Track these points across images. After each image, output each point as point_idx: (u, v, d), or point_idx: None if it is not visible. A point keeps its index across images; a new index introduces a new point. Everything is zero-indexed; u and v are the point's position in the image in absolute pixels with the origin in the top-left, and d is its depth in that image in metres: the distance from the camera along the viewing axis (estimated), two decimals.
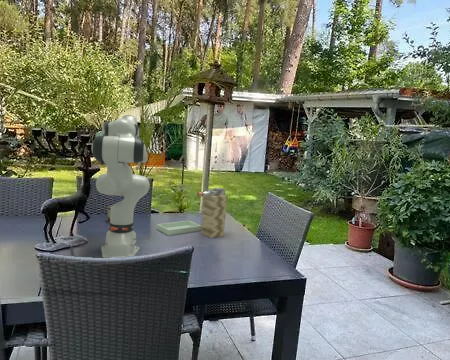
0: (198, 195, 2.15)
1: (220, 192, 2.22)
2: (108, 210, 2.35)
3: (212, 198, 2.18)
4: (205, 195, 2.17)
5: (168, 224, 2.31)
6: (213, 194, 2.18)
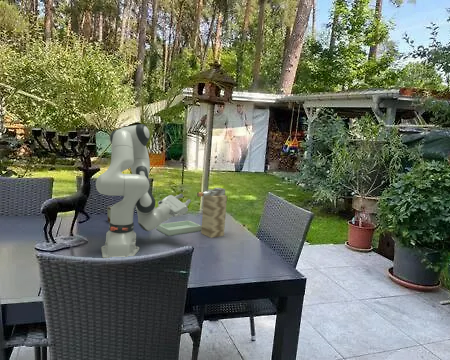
0: (198, 195, 2.15)
1: (220, 192, 2.22)
2: (108, 210, 2.35)
3: (212, 198, 2.18)
4: (205, 195, 2.17)
5: (168, 224, 2.31)
6: (213, 194, 2.18)
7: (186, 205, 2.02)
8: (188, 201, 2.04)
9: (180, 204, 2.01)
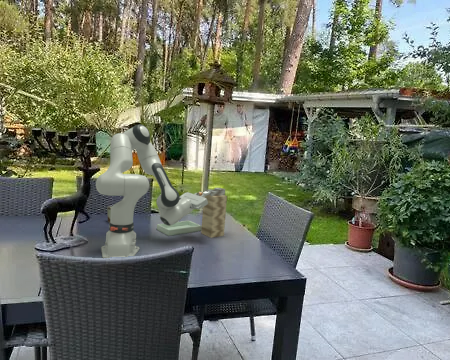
0: (198, 195, 2.14)
1: (220, 192, 2.22)
2: (108, 210, 2.35)
3: (212, 198, 2.18)
4: None
5: None
6: (213, 194, 2.18)
7: None
8: (204, 194, 2.14)
9: (200, 198, 2.09)
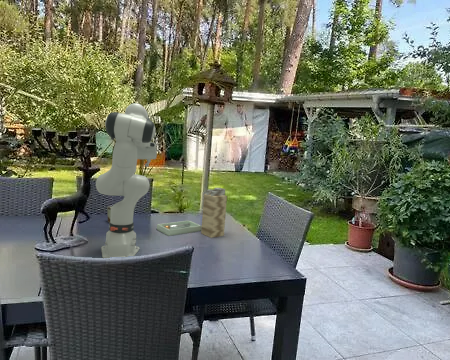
0: (165, 227, 2.25)
1: (220, 192, 2.22)
2: (108, 210, 2.35)
3: (212, 198, 2.18)
4: (172, 226, 2.27)
5: (168, 224, 2.31)
6: (213, 194, 2.18)
7: None
8: None
9: None
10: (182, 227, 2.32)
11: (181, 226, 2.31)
